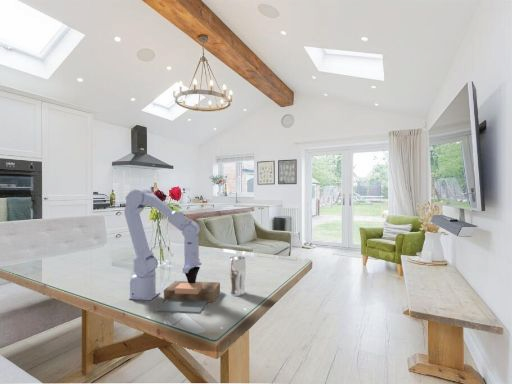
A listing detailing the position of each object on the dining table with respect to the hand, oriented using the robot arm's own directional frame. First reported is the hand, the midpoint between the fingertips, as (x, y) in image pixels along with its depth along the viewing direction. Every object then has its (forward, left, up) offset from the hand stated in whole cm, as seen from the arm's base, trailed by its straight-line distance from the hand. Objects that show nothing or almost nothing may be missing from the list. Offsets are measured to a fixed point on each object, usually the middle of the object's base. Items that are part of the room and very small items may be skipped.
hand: (191, 285), depth 113 cm
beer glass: (+18, +6, -5) cm, 20 cm away
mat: (0, -9, -5) cm, 10 cm away
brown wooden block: (0, +1, -5) cm, 5 cm away
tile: (0, -4, -1) cm, 4 cm away
